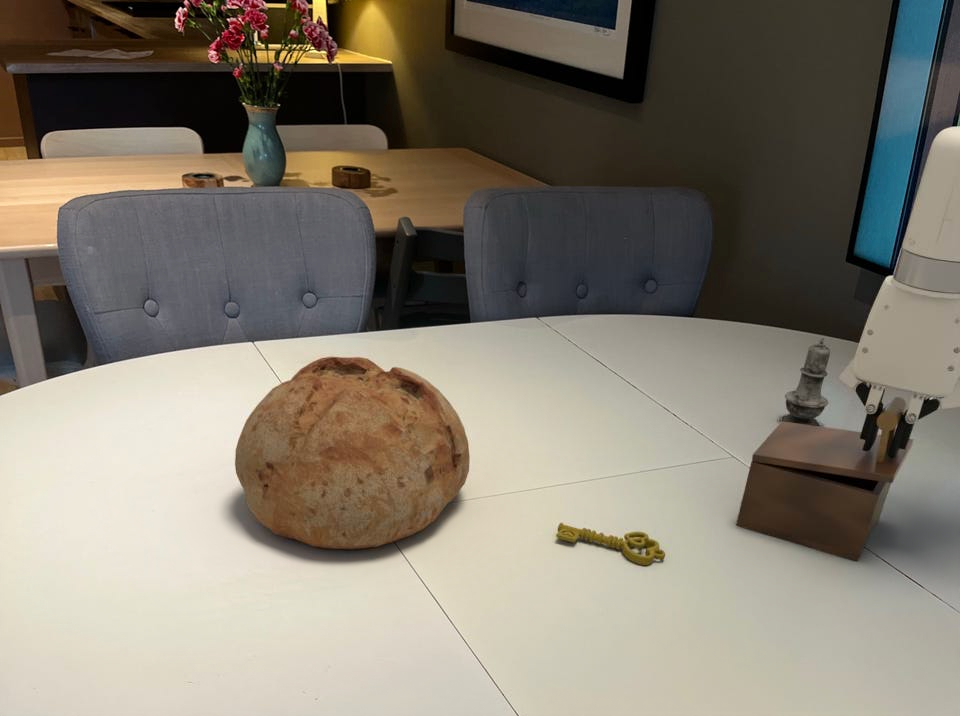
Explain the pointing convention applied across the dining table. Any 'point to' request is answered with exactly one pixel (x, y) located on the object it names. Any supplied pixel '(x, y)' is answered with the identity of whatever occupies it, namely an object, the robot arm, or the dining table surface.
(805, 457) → the lid
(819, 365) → the salt shaker
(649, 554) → the key
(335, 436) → the bread
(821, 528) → the box
